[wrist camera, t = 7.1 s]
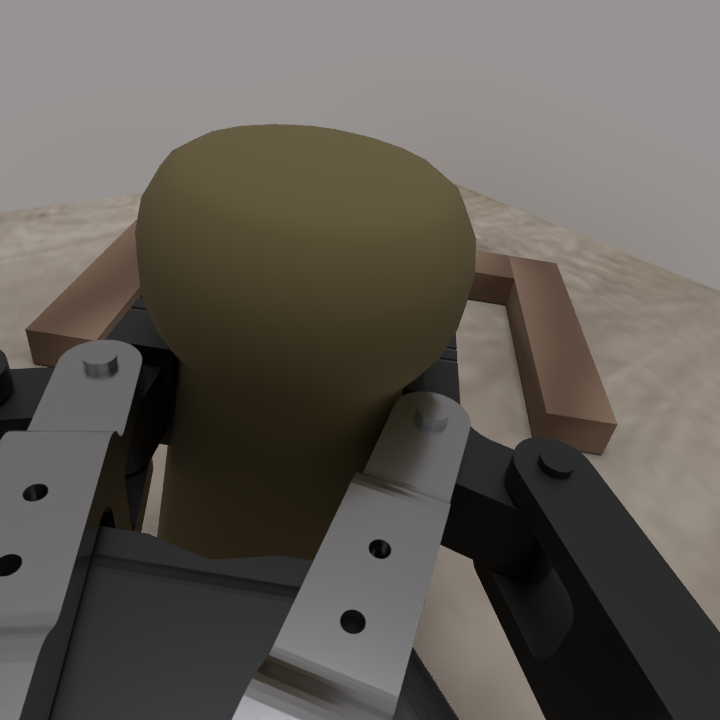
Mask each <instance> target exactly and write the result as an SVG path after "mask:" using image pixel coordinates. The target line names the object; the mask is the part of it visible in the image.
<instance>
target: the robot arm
mask: <svg viewBox="0 0 720 720" xmlns="http://www.w3.org/2000/svg"><path fill="white" fill-rule="evenodd" d="M456 348H457V347H456V333H455V334H454V336H453V337H452V339H451V341H450V342H449V344H448V346H447V347H446V349H445V350H444V352H443V354H442V355H441V357H440V359H438V360H437V361H436V362H435V363H434V364H433V365H431V366H430V367H429V368H428V369H427V370H425V371H424V372H423V373H422V374H421V375H420V376H418V377H417V378H416V379H415V380H414V381H412V382H410V383H409V384H408V385H406V386H405V387H404V388H403V396H402V397H401V398H399V399H398V400H397V401H396V403H395V404H394V407H393V409H392V411H391V413H390V415H389V417H388V420H387V422H386V424H385V426H384V428H383V430H382V433H381V435H380V437H379V439H378V441H377V443H376V446H375V448H374V450H373V452H372V454H371V457H370V459H369V461H368V463H367V465H366V467H365V469H364V472H361V471H358V472H357V473H356V474H355V476H354V477H353V479H352V481H351V483H350V485H349V487H348V490H347V492H346V494H345V496H344V498H343V500H342V502H341V504H340V506H339V508H338V511H337V513H336V515H335V517H334V519H333V521H332V523H331V525H330V527H329V529H328V532H327V534H326V536H325V538H324V540H323V542H322V544H321V546H320V548H319V551H318V553H317V555H316V557H315V559H314V561H311V560H305V559H299V558H293V557H287V556H281V555H280V556H264V557H248V558H231V559H207V558H204V557H201V556H199V555H196V554H194V553H192V552H189V551H187V550H185V549H182V548H180V547H178V546H175V545H173V544H171V543H168V542H166V541H164V540H161V539H159V538H157V537H154V536H152V535H150V534H146V533H141V530H142V525H143V520H144V514H145V509H146V504H147V499H148V494H149V488H150V483H151V478H152V473H153V460H152V456H153V455H154V453H155V451H156V449H157V447H158V445H159V444H164V445H170V442H171V434H172V426H173V418H174V410H175V399H176V384H177V369H178V357H176V356H175V354H174V353H173V352H172V351H171V349H170V348H169V347H168V345H167V344H166V343H165V341H164V340H163V339H162V337H161V336H160V335H159V333H158V332H157V331H156V329H155V328H154V325H153V323H152V320H151V318H150V316H149V313H148V311H147V308H146V306H145V303H144V301H143V298H142V296H141V295H140V298H138V299H137V300H136V301H135V302H134V304H133V305H132V306H131V309H129V310H128V311H127V312H126V314H125V315H124V316H123V317H122V318H121V320H120V321H119V322H118V323H117V325H116V326H115V327H114V328H113V330H112V331H111V332H110V333H109V335H108V336H107V337H106V338H105V340H96V341H90V342H86V343H83V344H80V345H77V346H75V347H73V348H71V349H69V350H68V351H67V352H65V353H64V354H63V355H62V356H61V357H60V359H59V361H58V363H57V365H56V367H48V368H27V369H9V365H8V361H7V357H6V356H5V354H4V353H3V352H2V351H1V350H0V720H459V719H458V717H457V716H456V714H455V713H454V711H453V710H452V708H451V706H450V705H449V703H448V702H447V700H446V699H445V697H444V695H443V694H442V692H441V691H440V689H439V688H438V686H437V684H436V683H435V681H434V680H433V678H432V677H431V675H430V673H429V672H428V670H427V669H426V667H425V666H424V664H423V662H422V661H421V659H420V658H419V656H418V655H417V653H416V651H415V650H414V648H413V647H412V646H413V642H414V639H415V635H416V631H417V628H418V624H419V620H420V616H421V613H422V609H423V605H424V602H425V598H426V594H427V591H428V587H429V583H430V580H431V576H432V572H433V569H434V565H435V561H436V558H437V554H438V550H439V546H440V545H442V546H445V547H447V548H449V549H451V550H453V551H455V552H457V553H460V554H462V555H464V556H466V557H468V558H470V559H472V560H473V563H474V567H475V570H476V573H477V575H478V577H479V579H480V581H481V583H482V585H483V587H484V590H485V592H486V594H487V596H488V598H489V600H490V602H491V604H492V607H493V609H494V611H495V613H496V615H497V617H498V619H499V621H500V624H501V626H502V628H503V630H504V632H505V634H506V636H507V638H508V640H509V643H510V645H511V647H512V649H513V651H514V653H515V655H516V657H517V660H518V662H519V664H520V666H521V668H522V670H523V672H524V674H525V677H526V679H527V681H528V683H529V685H530V687H531V689H532V691H533V693H534V696H535V698H536V700H537V702H538V704H539V706H540V708H541V710H542V713H543V715H544V717H545V719H546V720H720V632H719V631H718V629H717V628H716V627H715V625H714V624H713V623H712V622H711V620H710V619H709V618H708V616H707V615H706V614H705V612H704V611H703V610H702V608H701V607H700V606H699V604H698V603H697V602H696V601H695V599H694V598H693V597H692V595H691V594H690V593H689V591H688V590H687V589H686V587H685V586H684V585H683V583H682V582H681V581H680V579H679V578H678V577H677V576H676V574H675V573H674V572H673V570H672V569H671V568H670V566H669V565H668V564H667V562H666V561H665V560H664V558H663V557H662V556H661V555H660V553H659V552H658V551H657V549H656V548H655V547H654V545H653V544H652V543H651V541H650V540H649V539H648V537H647V536H646V535H645V534H644V532H643V531H642V530H641V528H640V527H639V526H638V524H637V523H636V522H635V520H634V519H633V518H632V516H631V515H630V514H629V513H628V511H627V510H626V509H625V507H624V506H623V505H622V503H621V502H620V501H619V499H618V498H617V497H616V495H615V494H614V493H613V492H612V490H611V489H610V488H609V486H608V485H607V484H606V482H605V481H604V480H603V478H602V477H601V476H600V474H599V473H598V472H597V471H596V469H595V468H594V467H593V465H592V464H591V463H590V461H589V460H588V459H587V458H586V457H585V456H584V455H583V454H582V453H581V452H579V451H578V450H576V449H575V448H573V447H572V446H570V445H568V444H566V443H564V442H561V441H558V440H555V439H551V438H545V437H534V438H529V439H526V440H523V441H522V442H520V443H519V444H518V445H517V446H516V448H515V450H513V449H511V448H509V447H506V446H504V445H501V444H499V443H496V442H494V441H492V440H489V439H487V438H486V437H484V436H482V435H481V434H479V433H478V432H477V431H475V430H474V429H473V428H472V427H471V426H470V425H471V423H470V418H469V416H468V414H467V412H466V411H465V410H464V409H463V407H462V406H460V393H459V377H458V363H457V351H456Z"/></svg>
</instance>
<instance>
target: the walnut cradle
mask: <svg viewBox="0 0 720 720" xmlns="http://www.w3.org/2000/svg"><path fill="white" fill-rule="evenodd" d="M136 224H137V220H136V221H135V222H134V223H133V224H132V225H131V226H130V227H129V228H128V229H127V230H126V231H125V232H124V233H123V234H122V235H121V236H120V237H119V238H118V239H117V240H116V241H115V242H114V243H113V244H112V245H111V246H110V247H108V248H107V249H106V250H105V251H104V252H103V253H102V254H101V255H100V256H99V257H98V258H97V259H96V260H95V261H94V262H93V263H92V264H91V265H90V266H89V267H88V268H87V269H86V270H85V271H84V272H83V273H82V274H81V275H80V276H79V277H78V278H77V279H76V280H75V281H74V282H73V283H72V284H71V285H70V286H69V287H68V288H67V289H66V290H65V291H64V292H63V293H62V294H61V295H60V296H59V297H58V298H57V299H56V300H55V301H54V302H53V303H52V304H51V305H50V306H49V307H48V308H47V309H46V310H45V311H44V312H43V313H42V314H41V315H40V316H39V317H38V318H37V319H36V320H35V321H33V322H32V323H31V324H30V325H29V326H28V327H27V328H26V329H25V330H26V334H27V338H28V342H29V346H30V350H31V354H32V358H33V362H34V364H41V365H47V366H53V367H56V365H57V363H58V361H59V359H60V357H61V356H62V355H63V354H64V353H65V352H67V351H68V350H69V349H71V348H73V347H75V346H77V345H80V344H83V343H86V342H90V341H96V340H105V338H106V337H107V336H108V335H109V333H110V332H111V331H112V330H113V328H114V327H115V326H116V325H117V323H118V322H119V321H120V320H121V318H122V317H123V316H124V315H125V314H126V312H127V311H128V310H129V309H131V306H132V305H133V304H134V302H135V301H136V300H137V299H138V298H140V295H141V289H140V280H139V271H138V262H137V251H136V238H135V229H136ZM468 299H473V300H479V301H485V302H492V303H498V304H504V305H506V307H507V312H508V317H509V322H510V327H511V332H512V337H513V342H514V347H515V352H516V357H517V362H518V367H519V372H520V377H521V382H522V387H523V391H524V396H525V401H526V406H527V411H528V416H529V421H530V426H531V431H532V436H533V438H534V437H545V438H551V439H555V440H558V441H561V442H564V443H566V444H568V445H570V446H572V447H573V448H575V449H576V450H578V451H582V452H588V453H595V454H601V455H602V453H603V451H604V449H605V448H606V446H607V444H608V442H609V440H610V438H611V436H612V434H613V432H614V430H615V428H616V426H617V422H616V419H615V417H614V414H613V411H612V409H611V406H610V403H609V401H608V398H607V395H606V393H605V390H604V388H603V385H602V382H601V380H600V377H599V374H598V372H597V369H596V366H595V364H594V361H593V359H592V356H591V353H590V351H589V348H588V345H587V343H586V340H585V337H584V335H583V332H582V329H581V327H580V324H579V322H578V319H577V316H576V314H575V311H574V308H573V306H572V303H571V300H570V298H569V295H568V292H567V290H566V287H565V285H564V282H563V279H562V277H561V274H560V271H559V269H558V266H557V263H551V262H545V261H539V260H532V259H526V258H520V257H514V256H507V255H501V254H495V253H489V252H482V251H476V263H475V276H474V279H473V283H472V286H471V289H470V293H469V296H468Z"/></svg>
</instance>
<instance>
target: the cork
mask: <svg viewBox="0 0 720 720" xmlns="http://www.w3.org/2000/svg"><path fill="white" fill-rule="evenodd" d="M135 238H136V251H137V262H138V271H139V280H140V289H141V296H142V298H143V301H144V303H145V306H146V308H147V311H148V313H149V316H150V318H151V320H152V323H153V325H154V328H155V329H156V331H157V332H158V333H159V335H160V336H161V337H162V339H163V340H164V341H165V343H166V344H167V345H168V347H169V348H170V349H171V351H172V352H173V353H174V354H175V356H176V357H178V369H177V384H176V399H175V410H174V418H173V426H172V434H171V442H170V445H168V448H167V457H166V466H165V475H164V483H163V492H162V501H161V510H160V518H159V527H158V536H157V538H159V539H161V540H164V541H166V542H168V543H171V544H173V545H175V546H178V547H180V548H182V549H185V550H187V551H189V552H192V553H194V554H196V555H199V556H201V557H204V558H207V559H231V558H248V557H264V556H280V555H281V556H287V557H293V558H299V559H305V560H311V561H314V559H315V557H316V555H317V553H318V551H319V548H320V546H321V544H322V542H323V540H324V538H325V536H326V534H327V532H328V529H329V527H330V525H331V523H332V521H333V519H334V517H335V515H336V513H337V511H338V508H339V506H340V504H341V502H342V500H343V498H344V496H345V494H346V492H347V490H348V487H349V485H350V483H351V481H352V479H353V477H354V476H355V474H356V473H357V472H358V471H361V472H364V469H365V467H366V465H367V463H368V461H369V459H370V457H371V454H372V452H373V450H374V448H375V446H376V443H377V441H378V439H379V437H380V435H381V433H382V430H383V428H384V426H385V424H386V422H387V420H388V417H389V415H390V413H391V411H392V409H393V407H394V404H395V403H396V401H397V400H398V399H399V398H401V397H402V396H403V388H404V387H405V386H406V385H408V384H409V383H410V382H412V381H414V380H415V379H416V378H417V377H418V376H420V375H421V374H422V373H423V372H424V371H425V370H427V369H428V368H429V367H430V366H431V365H433V364H434V363H435V362H436V361H437V360H438V359H440V357H441V355H442V354H443V352H444V350H445V349H446V347H447V346H448V344H449V342H450V341H451V339H452V337H453V336H454V334H455V333H456V331H457V329H458V326H459V323H460V320H461V318H462V315H463V312H464V309H465V306H466V303H467V299H468V296H469V293H470V289H471V286H472V283H473V279H474V276H475V263H476V238H475V235H474V232H473V229H472V226H471V223H470V220H469V217H468V214H467V211H466V208H465V205H464V202H463V200H462V197H461V195H460V192H459V190H458V188H457V187H456V186H455V185H454V184H453V183H452V182H450V181H449V180H448V179H447V178H446V177H445V176H444V175H443V174H442V173H440V172H439V171H438V170H437V169H436V168H434V167H433V166H432V165H431V164H430V163H429V162H427V161H426V160H425V159H423V158H421V157H419V156H417V155H415V154H413V153H411V152H409V151H407V150H405V149H403V148H401V147H398V146H395V145H392V144H389V143H385V142H383V141H380V140H377V139H374V138H370V137H366V136H362V135H358V134H354V133H350V132H345V131H341V130H336V129H330V128H322V127H314V126H303V125H278V124H272V125H271V124H270V125H250V126H238V127H232V128H227V129H222V130H217V131H212V132H210V133H208V134H205V135H203V136H201V137H199V138H197V139H194V140H192V141H191V142H188V143H186V144H184V145H182V146H181V147H179V148H177V149H175V150H173V151H172V152H171V153H170V154H169V156H168V157H167V158H166V159H165V160H164V162H163V163H162V164H161V165H160V167H159V168H158V170H157V172H156V173H155V175H154V177H153V179H152V180H151V182H150V184H149V186H148V187H147V189H146V190H145V192H144V194H143V195H142V197H141V203H140V208H139V213H138V219H137V224H136V229H135Z"/></svg>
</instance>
